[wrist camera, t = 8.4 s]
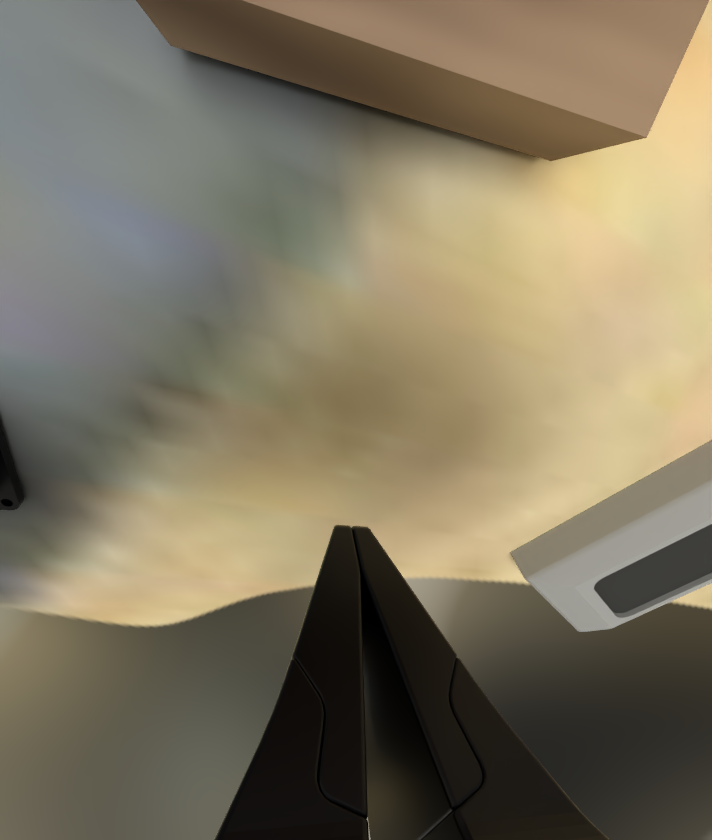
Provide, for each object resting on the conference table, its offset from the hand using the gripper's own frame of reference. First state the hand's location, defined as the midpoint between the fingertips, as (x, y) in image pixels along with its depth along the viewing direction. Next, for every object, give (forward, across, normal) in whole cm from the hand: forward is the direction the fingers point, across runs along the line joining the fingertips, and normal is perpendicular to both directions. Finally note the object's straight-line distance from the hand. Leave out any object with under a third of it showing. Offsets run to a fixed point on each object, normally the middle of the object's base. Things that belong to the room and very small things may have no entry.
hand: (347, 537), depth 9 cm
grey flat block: (+10, -23, +8) cm, 26 cm away
